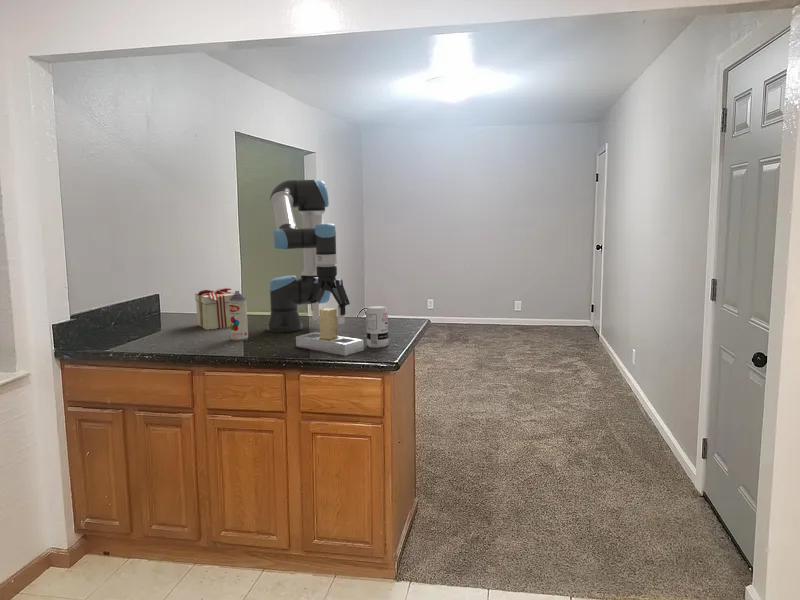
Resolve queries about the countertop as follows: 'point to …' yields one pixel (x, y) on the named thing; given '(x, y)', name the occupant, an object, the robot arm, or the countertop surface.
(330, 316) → the brass peg
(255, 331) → the countertop surface
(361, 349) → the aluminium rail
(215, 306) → the gift box
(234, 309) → the aerosol can
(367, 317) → the supplement can
